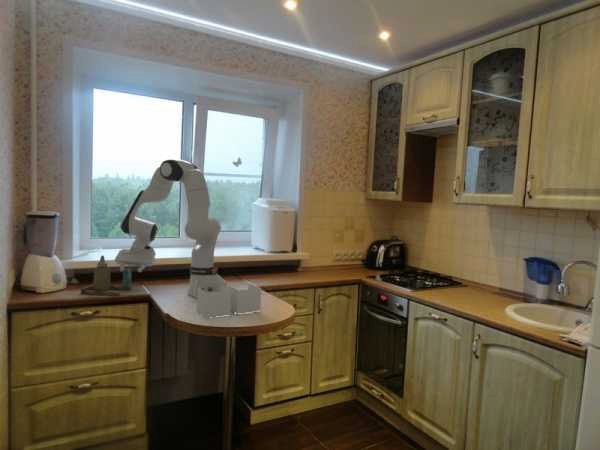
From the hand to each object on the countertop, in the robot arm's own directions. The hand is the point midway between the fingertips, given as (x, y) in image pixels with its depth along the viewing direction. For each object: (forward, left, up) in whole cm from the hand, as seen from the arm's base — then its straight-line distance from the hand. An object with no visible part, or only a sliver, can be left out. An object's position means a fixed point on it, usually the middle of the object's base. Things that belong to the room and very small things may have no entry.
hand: (130, 270), depth 209 cm
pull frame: (+6, +10, -9) cm, 15 cm away
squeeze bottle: (+9, +10, -9) cm, 17 cm away
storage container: (-60, +33, -9) cm, 69 cm away
